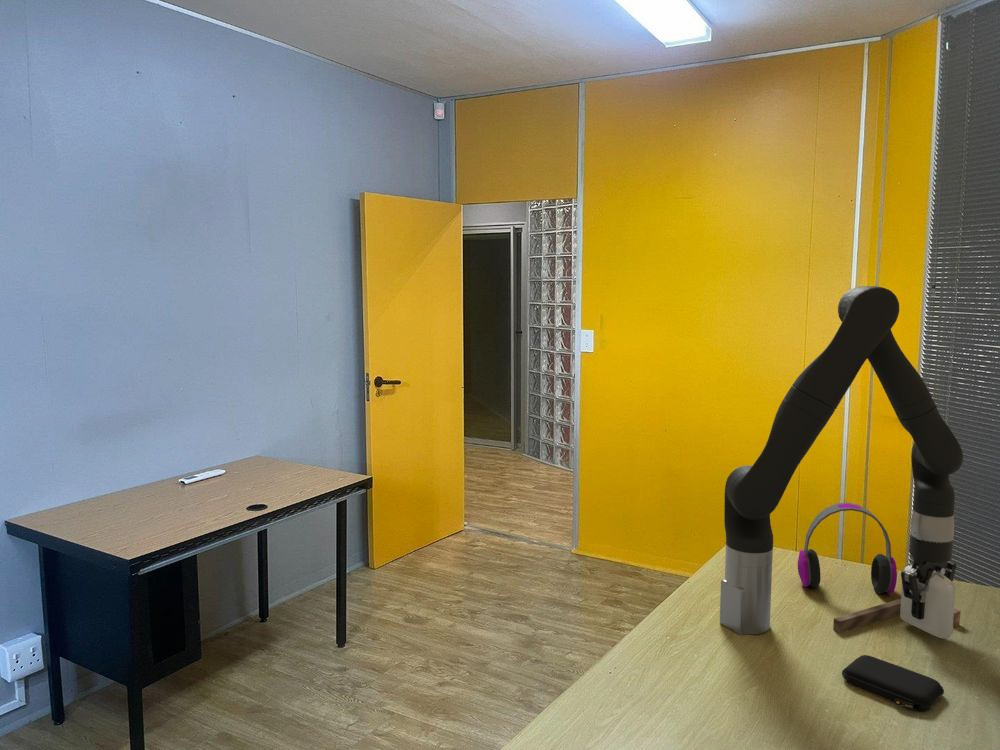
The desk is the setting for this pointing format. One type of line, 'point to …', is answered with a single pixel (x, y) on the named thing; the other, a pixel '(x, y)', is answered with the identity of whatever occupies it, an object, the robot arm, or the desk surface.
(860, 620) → the brown l-shaped block
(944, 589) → the photo printer
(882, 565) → the headphones
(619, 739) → the desk surface
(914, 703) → the carrying case or bag
